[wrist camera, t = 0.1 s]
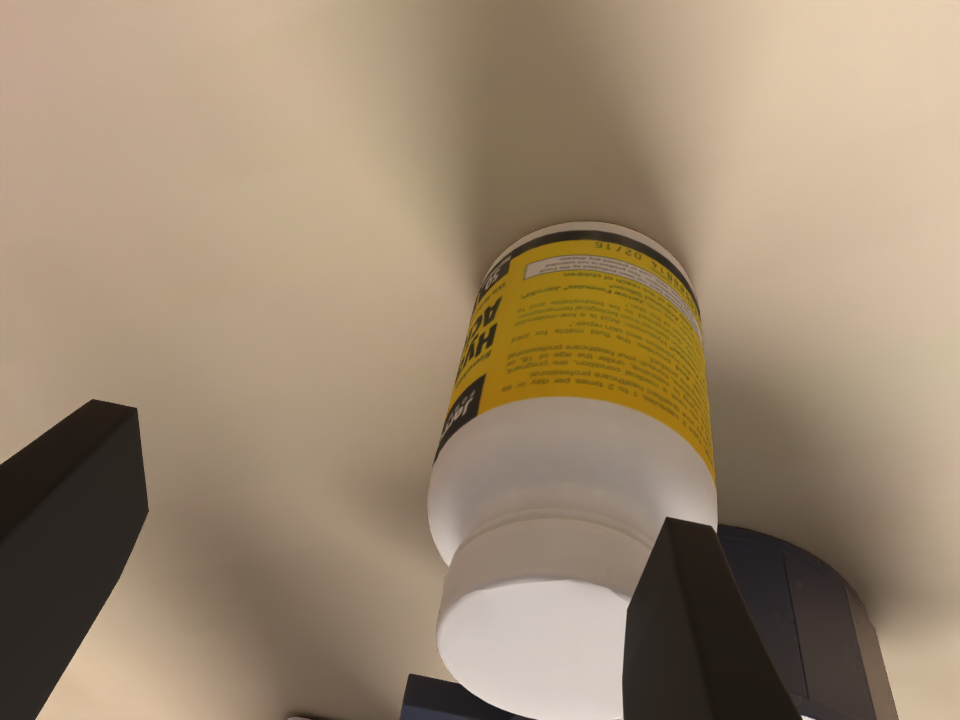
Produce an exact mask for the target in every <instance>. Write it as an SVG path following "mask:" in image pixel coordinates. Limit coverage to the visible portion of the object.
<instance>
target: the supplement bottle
mask: <svg viewBox="0 0 960 720" xmlns="http://www.w3.org/2000/svg"><path fill="white" fill-rule="evenodd" d="M427 514H428V522H429V527H430V530H431V534H432V537H433V540H434V543H435V545H436V547H437V549H438V551H439V553H440V555H441V557H442V558H443V560H444V561H445V563H446V564H447V566H448V567H449V568H448V571H447V573H446V577H445V581H444V589H443V595H442V601H441V606H440V610H439V615H438V620H437V627H436V642H437V647H438V652H439V654H440V657H441V659H442V661H443V663H444V665H445V666H446V668H447V669H448V671H449V672H450V673H451V674H452V676H453V677H454V678H455V679H456V680H457V681H458V682H459V683H460V684H461V685H463V686H464V687H465V688H466V689H467V690H469V691H470V692H471V693H472V694H474V695H476V696H477V697H479V698H481V699H482V700H484V701H485V702H487V703H489V704H491V705H493V706H496V707H498V708H500V709H503V710H506V711H508V712H511V713H514V714H517V715H521V716H524V717H528V718H533V719H537V720H615V719H619V718H623V698H622V673H623V656H624V641H625V628H626V615H627V608H628V606H629V603H630V601H631V599H632V596H633V594H634V592H635V589H636V587H637V585H638V582H639V580H640V577H641V575H642V573H643V570H644V568H645V566H646V563H647V561H648V558H649V556H650V554H651V551H652V549H653V547H654V544H655V542H656V540H657V537H658V535H659V532H660V530H661V528H662V525H663V523H664V521H665V518H666V517H671V518H676V519H681V520H686V521H691V522H696V523H701V524H705V525H710V526H712V527H713V529H714V530H715V532H716V533H717V524H718V512H717V491H716V480H715V469H714V458H713V447H712V435H711V424H710V412H709V402H708V391H707V381H706V370H705V359H704V348H703V338H702V328H701V318H700V311H699V306H698V301H697V297H696V294H695V291H694V288H693V286H692V283H691V281H690V279H689V277H688V275H687V274H686V272H685V270H684V269H683V268H682V266H681V265H680V264H679V262H678V261H677V260H676V259H675V258H674V257H673V256H672V254H671V253H669V252H668V251H667V250H666V249H665V248H663V247H662V246H661V245H660V244H658V243H657V242H655V241H654V240H652V239H650V238H649V237H647V236H645V235H643V234H641V233H639V232H636V231H634V230H631V229H629V228H626V227H622V226H619V225H615V224H610V223H604V222H589V221H584V222H570V223H563V224H558V225H553V226H549V227H546V228H543V229H540V230H537V231H535V232H532V233H530V234H528V235H526V236H524V237H523V238H521V239H519V240H518V241H516V242H515V243H513V244H512V245H511V246H510V247H509V248H507V249H506V250H505V251H504V252H503V253H502V254H501V255H500V256H499V257H498V258H497V259H496V261H495V262H494V263H493V265H492V266H491V267H490V269H489V271H488V272H487V274H486V276H485V278H484V280H483V282H482V284H481V287H480V290H479V292H478V295H477V298H476V302H475V305H474V309H473V313H472V317H471V321H470V325H469V329H468V333H467V337H466V341H465V345H464V349H463V353H462V356H461V360H460V364H459V369H458V373H457V376H456V380H455V384H454V388H453V392H452V396H451V400H450V404H449V408H448V411H447V415H446V419H445V423H444V427H443V430H442V433H441V438H440V441H439V445H438V449H437V452H436V455H435V459H434V463H433V466H432V473H431V479H430V483H429V489H428V497H427Z"/></svg>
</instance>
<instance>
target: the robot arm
mask: <svg viewBox="0 0 960 720" xmlns="http://www.w3.org/2000/svg"><path fill="white" fill-rule="evenodd" d="M148 512H149V509H148V500H147V491H146V482H145V473H144V465H143V456H142V447H141V438H140V429H139V421H138V412H137V408H134V407H129V406H124V405H120V404H115V403H110V402H105V401H100V400H95V399H92V400H91V401H89V402H87V403H86V404H84V405H83V406H82V407H80V408H79V409H77V410H76V411H74V412H73V413H72V414H70V415H69V416H67V417H66V418H65V419H63V420H62V421H60V422H59V423H58V424H56V425H55V426H54V427H52V428H51V429H49V430H48V431H47V432H45V433H44V434H43V435H41V436H40V437H38V438H37V439H36V440H34V441H33V442H32V443H30V444H29V445H27V446H26V447H25V448H23V449H22V450H20V451H19V452H18V453H16V454H15V455H13V456H12V457H11V458H9V459H8V460H6V461H5V462H4V463H2V464H1V465H0V720H35V719H36V717H37V716H38V714H39V712H40V711H41V709H42V707H43V706H44V704H45V702H46V701H47V699H48V697H49V696H50V694H51V692H52V691H53V689H54V687H55V686H56V684H57V682H58V681H59V679H60V677H61V676H62V674H63V673H64V671H65V669H66V668H67V666H68V664H69V663H70V661H71V659H72V658H73V656H74V654H75V653H76V651H77V649H78V648H79V646H80V644H81V643H82V641H83V639H84V638H85V636H86V634H87V633H88V631H89V629H90V628H91V626H92V624H93V622H94V621H95V619H96V617H97V616H98V614H99V612H100V611H101V609H102V607H103V606H104V604H105V602H106V601H107V599H108V597H109V595H110V594H111V592H112V590H113V589H114V587H115V585H116V583H117V582H118V580H119V578H120V576H121V574H122V571H123V569H124V567H125V565H126V563H127V560H128V558H129V556H130V554H131V552H132V549H133V547H134V545H135V543H136V540H137V538H138V535H139V533H140V531H141V528H142V526H143V524H144V521H145V519H146V517H147V514H148ZM622 698H623V720H803V719H802V717H801V715H800V713H799V711H798V709H797V707H796V706H795V704H794V702H793V700H792V698H791V696H790V694H789V692H788V690H787V688H786V686H785V684H784V682H783V680H782V678H781V676H780V674H779V672H778V670H777V668H776V666H775V664H774V662H773V660H772V658H771V656H770V654H769V652H768V650H767V648H766V646H765V644H764V642H763V640H762V638H761V636H760V633H759V631H758V629H757V627H756V625H755V623H754V621H753V618H752V616H751V614H750V612H749V609H748V607H747V605H746V603H745V600H744V598H743V596H742V594H741V591H740V589H739V587H738V584H737V582H736V580H735V577H734V575H733V573H732V570H731V568H730V565H729V563H728V561H727V558H726V556H725V553H724V551H723V548H722V546H721V543H720V541H719V538H718V536H717V533H716V532H715V530H714V529H713V527H712V526H710V525H705V524H701V523H696V522H691V521H686V520H681V519H676V518H671V517H666V518H665V521H664V523H663V525H662V528H661V530H660V532H659V535H658V537H657V540H656V542H655V544H654V547H653V549H652V551H651V554H650V556H649V558H648V561H647V563H646V566H645V568H644V570H643V573H642V575H641V577H640V580H639V582H638V585H637V587H636V589H635V592H634V594H633V596H632V599H631V601H630V603H629V606H628V608H627V615H626V628H625V641H624V656H623V673H622ZM287 720H311V719H306V718H301V717H290V718H288V719H287Z"/></svg>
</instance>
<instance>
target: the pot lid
mask: <svg viewBox="0 0 960 720" xmlns="http://www.w3.org/2000/svg"><path fill="white" fill-rule="evenodd" d="M790 696H791V698H792V700H793V702H794V704H795V706H796V707H797V709H798V711H799V713H800V715H801V717H802V719H803V720H860V719H858V718H856V717H854V716H851V715H849V714H847V713H845V712H843V711H840V710H838V709H836V708H833V707H830V706H827V705H824V704H822V703H819V702H816V701H813V700H810V699H807V698H804V697H800V696H796V695H792V694H790ZM510 720H537V719H533V718H528V717H524V716H521V715H517V716H515V717H513V718H512V719H510ZM615 720H623V718H619V719H615Z"/></svg>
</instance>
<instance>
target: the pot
mask: <svg viewBox="0 0 960 720" xmlns="http://www.w3.org/2000/svg"><path fill="white" fill-rule="evenodd" d="M717 536H718V538H719V541H720V543H721V546H722V548H723V551H724V553H725V556H726V558H727V561H728V563H729V565H730V568H731V570H732V573H733V575H734V577H735V580H736V582H737V584H738V587H739V589H740V591H741V594H742V596H743V598H744V600H745V603H746V605H747V607H748V609H749V612H750V614H751V616H752V618H753V621H754V623H755V625H756V627H757V629H758V631H759V633H760V636H761V638H762V640H763V642H764V644H765V646H766V648H767V650H768V652H769V654H770V656H771V658H772V660H773V662H774V664H775V666H776V668H777V670H778V672H779V674H780V676H781V678H782V680H783V682H784V684H785V686H786V688H787V690H788V692H789V694H792V695H796V696H800V697H804V698H807V699H810V700H813V701H816V702H819V703H822V704H824V705H827V706H830V707H833V708H836V709H838V710H840V711H843V712H845V713H847V714H849V715H851V716H854V717H856V718H858V719H860V720H899V718H898V715H897V711H896V707H895V703H894V699H893V696H892V692H891V688H890V684H889V680H888V677H887V673H886V669H885V665H884V661H883V657H882V654H881V650H880V646H879V642H878V638H877V635H876V631H875V628H874V627H873V625H872V624H871V622H870V621H869V619H868V616H867V613H866V610H865V608H864V606H863V604H862V602H861V601H860V599H859V597H858V595H857V594H856V593H855V591H854V590H853V589H852V588H851V587H850V585H849V584H848V583H847V582H846V581H845V579H844V578H842V577H841V576H840V575H839V574H838V573H837V572H836V571H834V570H833V569H832V568H831V567H830V566H829V565H827V564H826V563H824V562H822V561H821V560H819V559H818V558H816V557H815V556H813V555H812V554H810V553H808V552H806V551H804V550H802V549H800V548H798V547H796V546H794V545H792V544H790V543H787V542H785V541H782V540H779V539H776V538H774V537H771V536H768V535H765V534H761V533H757V532H754V531H750V530H746V529H742V528H736V527H730V526H724V525H717ZM515 716H517V714H514V713H511V712H508V711H506V710H503V709H500V708H498V707H496V706H493V705H491V704H489V703H487V702H485V701H484V700H482V699H481V698H479V697H477V696H476V695H474V694H472V693H471V692H470V691H469V690H467V689H466V688H465V687H464V686H463V685H461V684H459V683H454V682H449V681H444V680H439V679H435V678H430V677H425V676H420V675H415V674H409V676H408V680H407V685H406V690H405V694H404V699H403V703H402V709H401V714H400V719H399V720H510V719H512V718H513V717H515Z"/></svg>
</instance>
